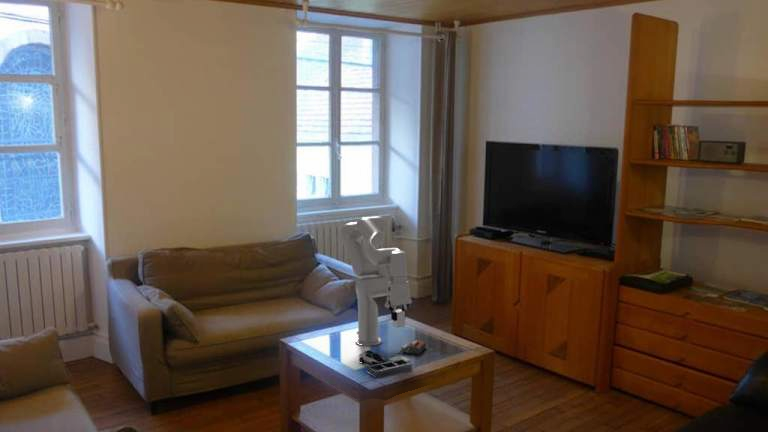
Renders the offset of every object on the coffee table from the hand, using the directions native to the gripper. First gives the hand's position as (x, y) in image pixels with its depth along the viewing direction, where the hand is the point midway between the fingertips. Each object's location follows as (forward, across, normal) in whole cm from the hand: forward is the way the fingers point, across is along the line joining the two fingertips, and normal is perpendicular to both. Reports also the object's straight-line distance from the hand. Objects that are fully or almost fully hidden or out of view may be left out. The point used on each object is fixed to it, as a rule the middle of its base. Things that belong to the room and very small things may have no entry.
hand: (398, 318), depth 300 cm
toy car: (+20, -12, +3) cm, 23 cm away
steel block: (+3, 0, 0) cm, 3 cm away
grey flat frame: (+19, -10, -9) cm, 23 cm away
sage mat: (+19, 0, 0) cm, 19 cm away
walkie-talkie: (+19, +10, +5) cm, 22 cm away
